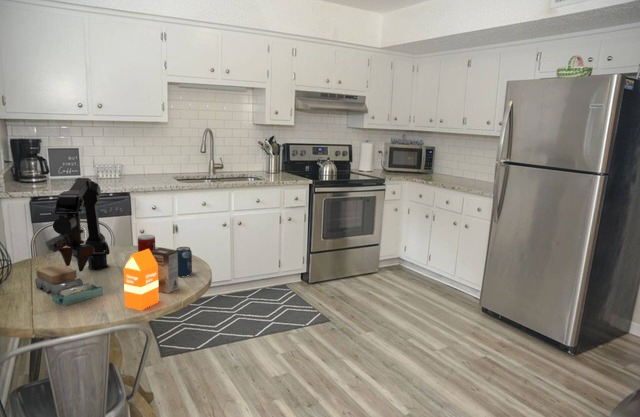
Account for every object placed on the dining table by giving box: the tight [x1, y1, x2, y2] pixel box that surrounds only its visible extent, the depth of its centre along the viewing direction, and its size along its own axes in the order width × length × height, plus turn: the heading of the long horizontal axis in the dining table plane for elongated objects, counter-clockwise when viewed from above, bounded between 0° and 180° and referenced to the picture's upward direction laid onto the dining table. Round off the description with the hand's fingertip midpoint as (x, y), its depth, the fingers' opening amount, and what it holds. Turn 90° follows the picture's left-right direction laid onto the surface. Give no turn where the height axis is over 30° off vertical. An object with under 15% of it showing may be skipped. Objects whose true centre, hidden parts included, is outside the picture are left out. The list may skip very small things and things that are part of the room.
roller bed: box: [35, 277, 104, 307], centre depth 168 cm, size 15×26×4 cm, turn 56°
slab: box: [36, 263, 78, 284], centre depth 170 cm, size 9×12×3 cm
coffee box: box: [151, 247, 179, 294], centre depth 173 cm, size 9×6×16 cm
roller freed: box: [59, 282, 92, 297], centre depth 164 cm, size 10×4×4 cm, turn 146°
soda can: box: [175, 246, 193, 277], centre depth 191 cm, size 7×7×12 cm
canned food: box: [137, 234, 156, 252], centre depth 211 cm, size 8×8×11 cm
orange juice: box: [123, 249, 160, 311], centre depth 158 cm, size 8×9×20 cm
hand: (74, 268), depth 162 cm, fingers open, 9 cm apart
